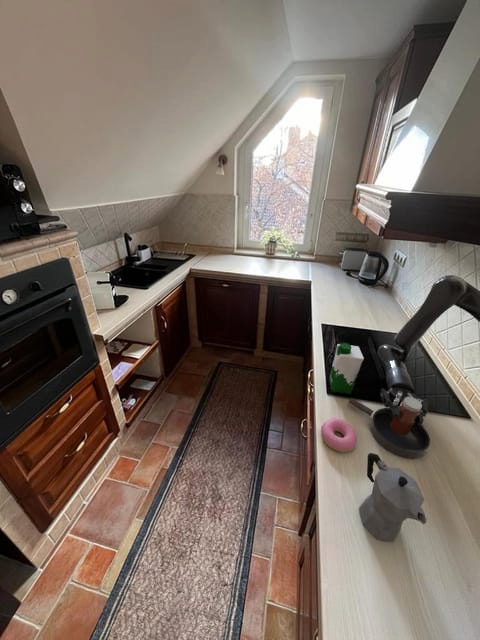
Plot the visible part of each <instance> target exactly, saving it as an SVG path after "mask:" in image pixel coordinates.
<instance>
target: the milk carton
mask: <svg viewBox="0 0 480 640" xmlns="http://www.w3.org/2000/svg"><path fill="white" fill-rule="evenodd" d="M334 354H335V355H334V359H333V361H332V365H331V369H330V372H329V373H330V374H329V377H328V381H329V385H331V386H330V390H332V391H331V393H336V392H339V393H338V394H344V393H346V394H345V395H351V394H352V392H353V389H354V387H355V383H356V380H357V378H358V375H359V372H360V370H361V366H362V363H363V361H365V360H364V359H365V358H364V356H363V353H362V351H361V348H360V346H359V345H351V344H350V343H347V342H341V343H337V345H336V350H335V353H334Z"/></svg>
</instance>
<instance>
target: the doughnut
mask: <svg viewBox="0 0 480 640" xmlns="http://www.w3.org/2000/svg"><path fill="white" fill-rule="evenodd" d="M320 432H321V433H320V434H321V437H322V440H323V441H324V442H325V444H326V445H327V446H329V448H331V449H332V450H334V451H337V452H340V453H341V452H342V453H347V452H350V451H352V450H353V449H354V448H355V447H356V446H357V445H358V435H357V432H356V429H354V427H353V426H352V425H351V424H349V422H347V421H345V420H343V419H340V418H334V417H333V418H330V419H327V420H325V421H324V423H323V424H322V425H321V428H320ZM335 432H338V433H340V434H342V435H343V437H340V436H337V435H336V434H335Z"/></svg>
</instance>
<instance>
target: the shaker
mask: <svg viewBox="0 0 480 640" xmlns="http://www.w3.org/2000/svg"><path fill="white" fill-rule="evenodd" d="M421 408H422V404H421V402H420V401H418V400H417V399H415V398H413V397H406V398H405V399H404V400H403V401H402V402H401V404H400V405H399V411H400V418H399V420H397V419H395V417H394V418H393V420H392V422H391V428H392V430H393V431H394V432H395V433H397V434H399V435H402V436H406V435H408V433H409V432H410V430H411V428H412V426H413V425H414V423H415V421H416V419H417V418H418V416H419V414H420V412H421Z"/></svg>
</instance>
